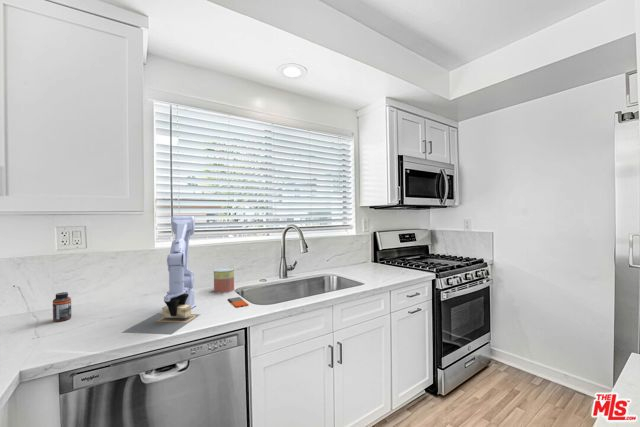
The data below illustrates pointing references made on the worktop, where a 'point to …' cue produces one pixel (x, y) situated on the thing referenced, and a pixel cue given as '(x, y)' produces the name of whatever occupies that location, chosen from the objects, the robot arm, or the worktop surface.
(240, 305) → the phone
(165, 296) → the robot arm
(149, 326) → the rubber mat
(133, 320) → the worktop surface
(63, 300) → the supplement bottle
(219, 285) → the canned food
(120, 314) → the worktop surface
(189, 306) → the cream block
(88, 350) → the worktop surface
